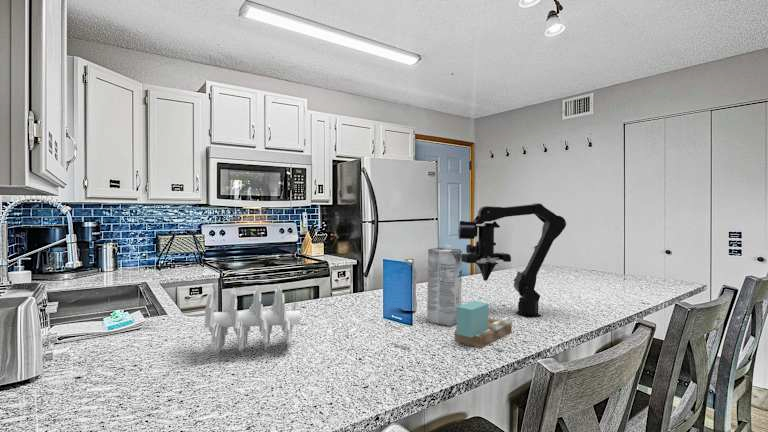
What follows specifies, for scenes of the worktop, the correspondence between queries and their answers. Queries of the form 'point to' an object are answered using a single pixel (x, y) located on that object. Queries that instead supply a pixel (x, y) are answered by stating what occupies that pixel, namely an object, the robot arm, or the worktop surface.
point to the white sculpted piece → (250, 319)
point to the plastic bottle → (414, 284)
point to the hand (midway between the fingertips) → (485, 280)
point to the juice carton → (444, 284)
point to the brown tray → (487, 333)
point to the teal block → (472, 318)
